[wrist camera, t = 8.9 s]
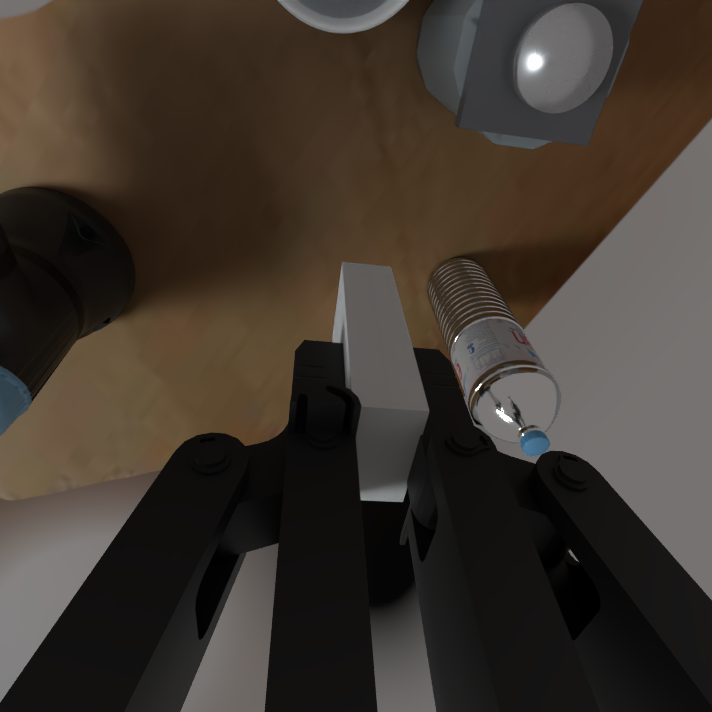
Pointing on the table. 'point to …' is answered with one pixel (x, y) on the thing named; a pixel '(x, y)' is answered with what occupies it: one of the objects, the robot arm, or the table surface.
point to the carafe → (506, 68)
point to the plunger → (561, 57)
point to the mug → (343, 13)
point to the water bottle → (493, 357)
